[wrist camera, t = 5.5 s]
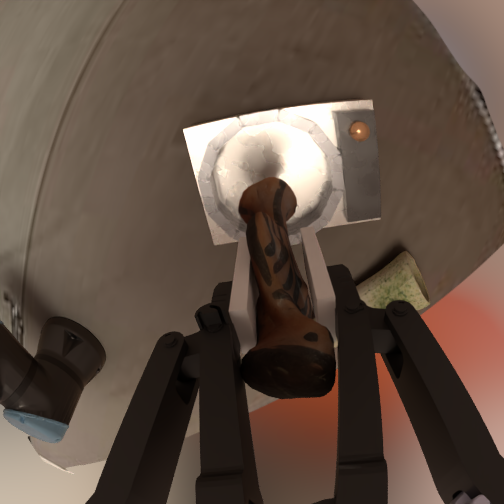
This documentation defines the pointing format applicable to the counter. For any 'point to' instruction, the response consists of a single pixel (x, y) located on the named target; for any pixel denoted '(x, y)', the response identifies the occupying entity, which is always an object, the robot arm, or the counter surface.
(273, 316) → the figurine
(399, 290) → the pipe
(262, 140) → the white flat device
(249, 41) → the counter surface
